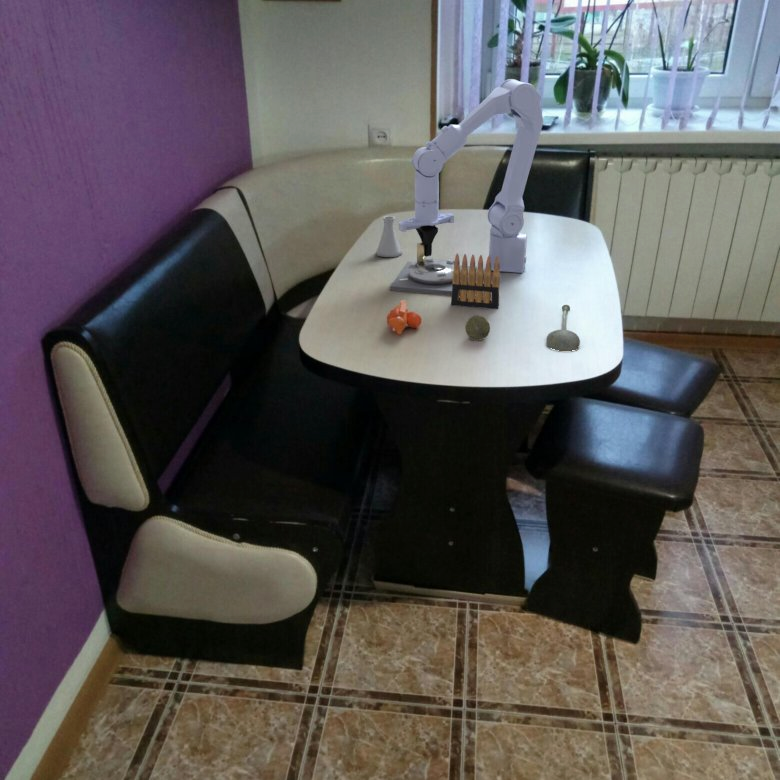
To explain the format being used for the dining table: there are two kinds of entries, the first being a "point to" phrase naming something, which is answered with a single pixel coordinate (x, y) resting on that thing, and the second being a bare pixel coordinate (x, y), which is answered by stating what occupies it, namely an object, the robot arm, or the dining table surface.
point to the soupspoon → (563, 336)
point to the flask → (388, 240)
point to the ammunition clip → (476, 284)
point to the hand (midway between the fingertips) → (426, 255)
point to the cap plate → (420, 284)
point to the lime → (477, 327)
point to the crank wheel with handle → (431, 269)
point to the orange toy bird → (402, 318)
